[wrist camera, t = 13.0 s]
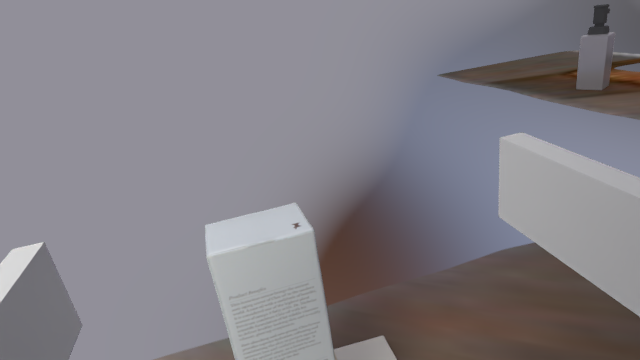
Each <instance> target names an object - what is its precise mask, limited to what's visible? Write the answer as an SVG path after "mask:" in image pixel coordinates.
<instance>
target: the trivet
mask: <svg viewBox="0 0 640 360" xmlns="http://www.w3.org/2000/svg"><path fill="white" fill-rule="evenodd" d="M334 352H335V355H336V357H337V360H397V359H396V357H395V356H394V354H393V352H392V350H391V348H390V347H389V345H388V343H387V341H386V339H385V338H384V336H379V337H376V338H372V339H368V340H365V341H361V342H358V343H354V344H351V345H347V346H344V347H340V348H337V349H334Z"/></svg>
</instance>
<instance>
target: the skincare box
mask: <svg viewBox="0 0 640 360" xmlns="http://www.w3.org/2000/svg"><path fill="white" fill-rule="evenodd" d="M205 236H206V257H207V261H208V264H209V268H210V272H211V275H212V278H213V282H214V285H215V289H216V292H217V296H218V299H219V302H220V306H221V309H222V313H223V317H224V321H225V324H226V328H227V331H228V335H229V339H230V342H231V346H232V350H233V353H234V357H235V360H335V355H334V349H333V343H332V337H331V330H330V324H329V318H328V311H327V305H326V300H325V293H324V288H323V281H322V275H321V270H320V264H319V258H318V252H317V245H316V238H315V231H314V229H313V228H312V226H311V224H310V223H309V221H308V220H307V218H306V217H305V215H304V214H303V213H302V211H301V209H300V208H299V206H298V205H297V203H292V204H288V205H284V206H280V207H276V208H272V209H269V210H265V211H261V212H256V213H252V214H248V215H244V216H240V217H236V218H231V219H228V220H224V221H219V222H215V223H212V224H207V225H206V226H205Z"/></svg>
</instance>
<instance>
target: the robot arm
mask: <svg viewBox="0 0 640 360" xmlns="http://www.w3.org/2000/svg"><path fill="white" fill-rule="evenodd" d="M499 159H500V160H499V161H500V162H499V217H500V218H501V219H503V220H504V221H506V222H507V223H508V224H510V225H511V226H513V227H514V228H515V229H517V230H518V231H520V232H521V233H522V234H524V235H525V236H527V237H528V238H530V239H531V240H533V241H534V242H535V243H537V244H538V245H539V246H541V247H542V248H544V249H545V250H546V251H548V252H549V253H551V254H552V255H553V256H555V257H556V258H558V259H559V260H561V261H562V262H563V263H565V264H566V265H568V266H569V267H570V268H572V269H573V270H575V271H576V272H577V273H579V274H580V275H582V276H583V277H584V278H586V279H587V280H589V281H590V282H592V283H593V284H594V285H596V286H597V287H599V288H600V289H601V290H603V291H604V292H606V293H607V294H608V295H610V296H611V297H613V298H614V299H615V300H617V301H618V302H620V303H621V304H623V305H624V306H625V307H627V308H628V309H630V310H631V311H632V312H634V313H635V314H637V315H638V316H639V317H640V178H639V177H636V176H634V175H631V174H629V173H626V172H623V171H621V170H618V169H616V168H613V167H610V166H608V165H605V164H603V163H600V162H597V161H594V160H592V159H590V158H587V157H584V156H582V155H579V154H577V153H574V152H571V151H569V150H566V149H564V148H561V147H559V146H556V145H553V144H551V143H548V142H545V141H543V140H540V139H538V138H535V137H533V136H530V135H527V134H525V133H517V134H513V135H509V136H504V137H500V158H499ZM81 328H82V323H81V321H80V318H79V316H78V314H77V312H76V310H75V308H74V306H73V303H72V301H71V299H70V297H69V295H68V292H67V290H66V288H65V286H64V284H63V282H62V279H61V277H60V275H59V273H58V271H57V269H56V266H55V264H54V262H53V260H52V258H51V256H50V253H49V251H48V249H47V247H46V245H45V242H42V243H38V244H33V245H29V246H25V247H20V248H16V249H13V250H11V252H10V253H9V254H8V255H7V257H6V258H5V259H4V260H3V261H2V263H1V264H0V360H68V359H69V357H70V355H71V352H72V350H73V347H74V345H75V342H76V340H77V337H78V335H79V333H80V330H81Z"/></svg>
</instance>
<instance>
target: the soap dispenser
mask: <svg viewBox="0 0 640 360" xmlns="http://www.w3.org/2000/svg"><path fill="white" fill-rule="evenodd" d="M608 7H609V5H608V4H607V5H597V6H594V8H595V9H594V20H593V24H595V26H594V27H590V28H589V31H588V34H586V35H584V36H582V37H581V42H580V52H579V63H578V74H577V84H576V89H584V90H603V89H604V88H606V87H607V86H608V85H609V79H610V71H611V63H612V55H613V46H614V38H615V32H609V26H604V23H606V21H607V13H609V11H610V9H608Z"/></svg>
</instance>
